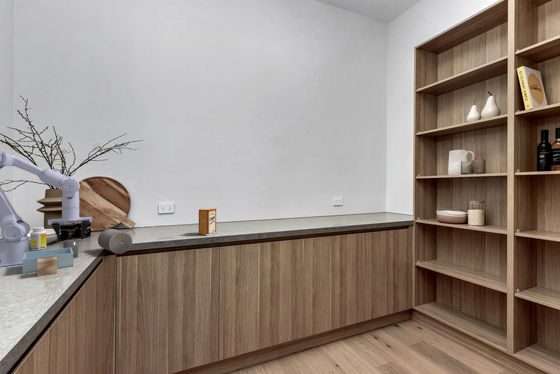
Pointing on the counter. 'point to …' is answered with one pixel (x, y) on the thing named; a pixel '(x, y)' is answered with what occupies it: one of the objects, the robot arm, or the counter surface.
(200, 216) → the baking soda box
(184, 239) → the counter surface
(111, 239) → the pillar candle
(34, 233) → the supplement bottle
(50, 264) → the oak block
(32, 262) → the tote
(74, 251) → the grey cylinder
